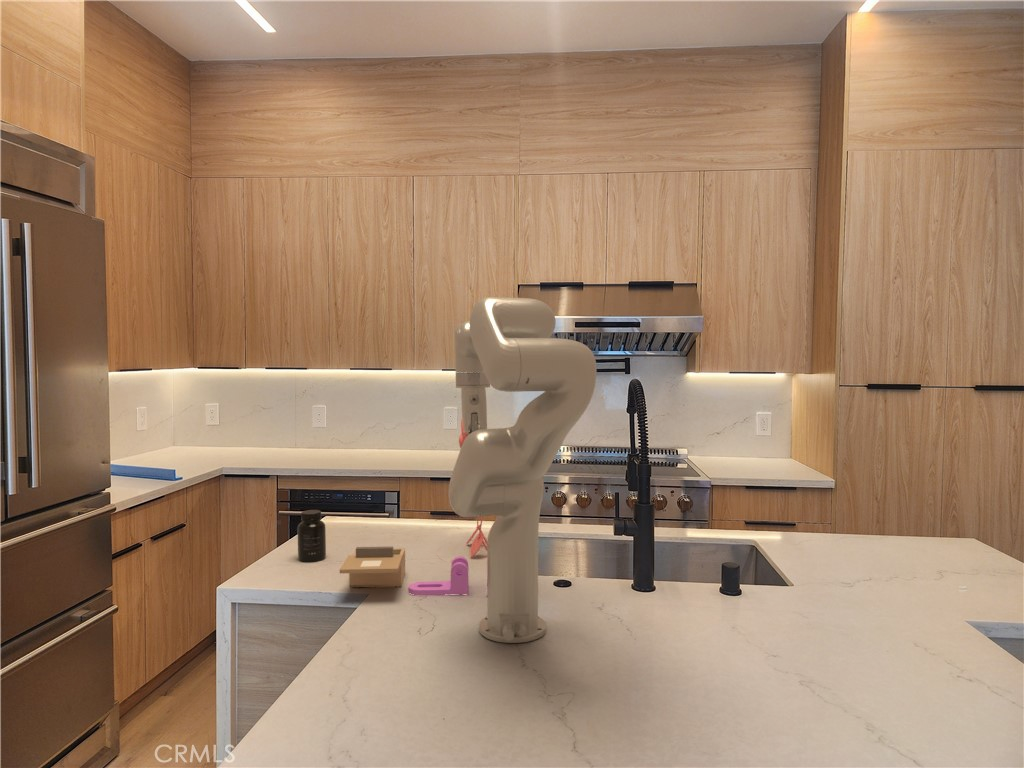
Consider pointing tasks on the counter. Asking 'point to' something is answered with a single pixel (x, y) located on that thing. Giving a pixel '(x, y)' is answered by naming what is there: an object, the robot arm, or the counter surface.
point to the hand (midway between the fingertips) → (473, 464)
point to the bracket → (445, 587)
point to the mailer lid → (372, 561)
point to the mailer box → (380, 575)
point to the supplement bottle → (311, 537)
